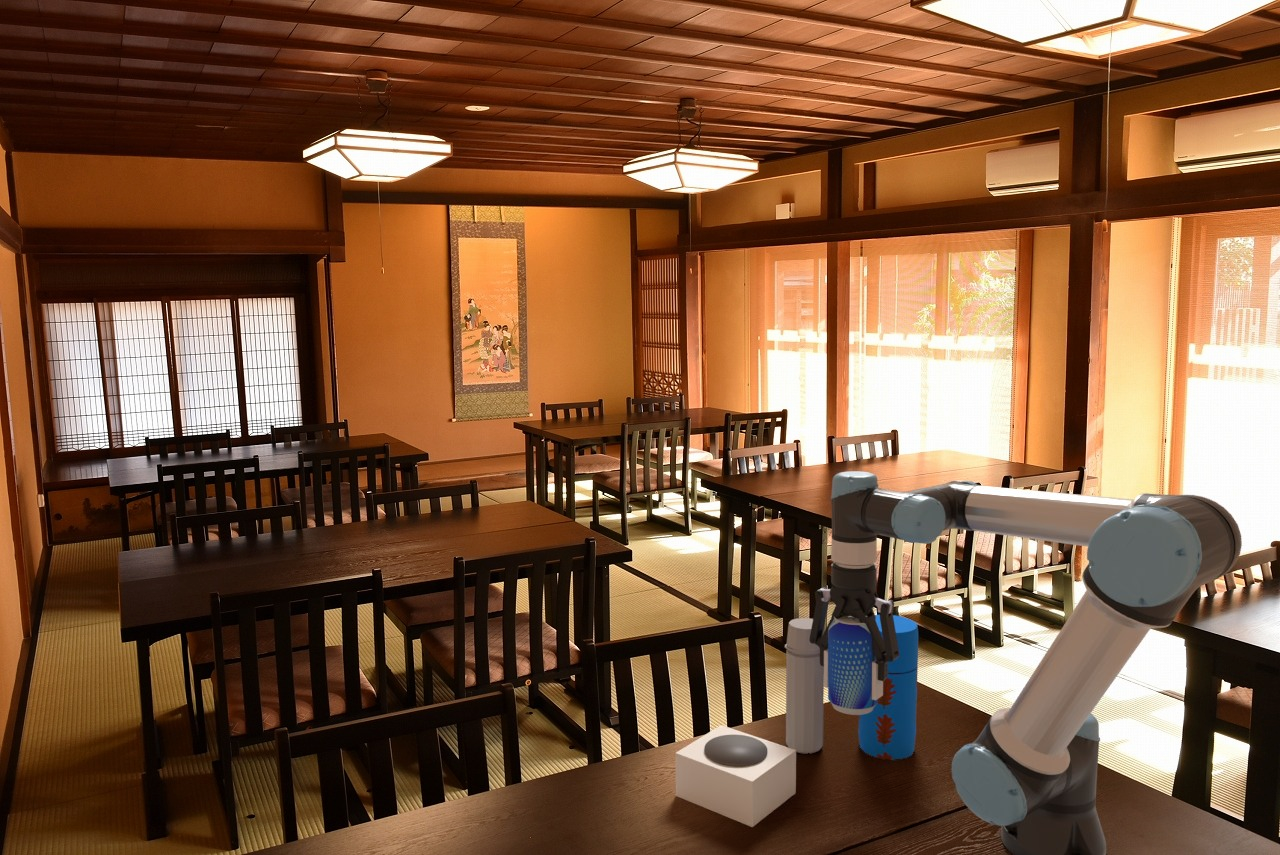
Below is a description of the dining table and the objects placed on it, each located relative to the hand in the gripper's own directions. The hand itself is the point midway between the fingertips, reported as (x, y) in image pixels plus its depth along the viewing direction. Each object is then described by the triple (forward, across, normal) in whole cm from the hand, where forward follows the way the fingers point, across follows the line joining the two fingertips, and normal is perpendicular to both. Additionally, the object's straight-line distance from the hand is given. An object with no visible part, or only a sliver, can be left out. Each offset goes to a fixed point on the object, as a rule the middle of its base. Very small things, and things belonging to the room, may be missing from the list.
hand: (853, 690), depth 159 cm
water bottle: (+19, +16, -12) cm, 28 cm away
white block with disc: (+19, +16, +12) cm, 28 cm away
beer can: (+3, 0, 0) cm, 3 cm away
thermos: (+20, +4, -21) cm, 29 cm away
